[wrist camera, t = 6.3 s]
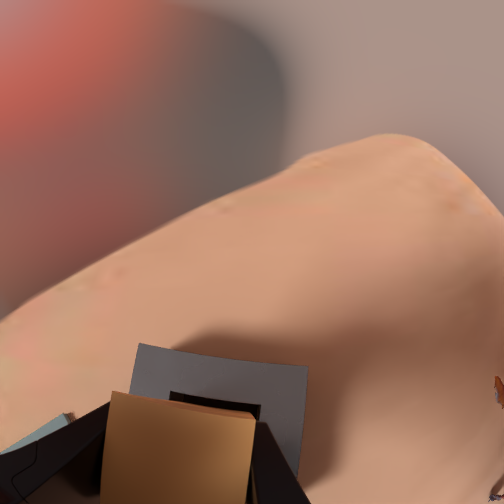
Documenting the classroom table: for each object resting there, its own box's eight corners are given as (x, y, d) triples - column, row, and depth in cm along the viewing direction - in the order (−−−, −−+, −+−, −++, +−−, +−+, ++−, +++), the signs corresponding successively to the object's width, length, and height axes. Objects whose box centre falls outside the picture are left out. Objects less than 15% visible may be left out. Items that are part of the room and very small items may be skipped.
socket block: (296, 374, 17) (308, 366, 14) (281, 503, 12) (289, 522, 9) (156, 355, 17) (139, 342, 14) (138, 479, 12) (116, 491, 9)
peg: (249, 412, 13) (255, 419, 6) (241, 471, 12) (238, 542, 4) (183, 402, 14) (112, 390, 6) (175, 460, 12) (99, 507, 4)
